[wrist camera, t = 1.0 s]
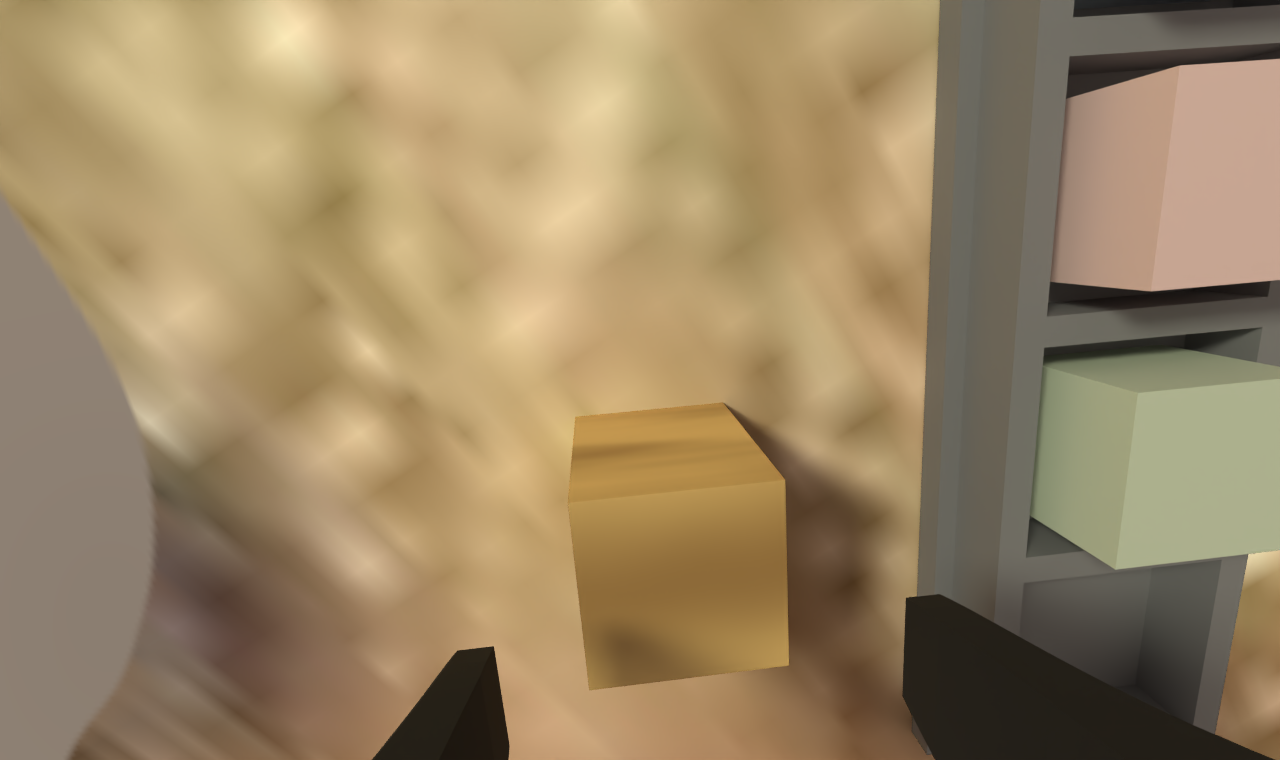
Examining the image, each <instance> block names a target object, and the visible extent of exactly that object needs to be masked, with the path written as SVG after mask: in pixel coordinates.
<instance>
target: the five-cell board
mask: <svg viewBox="0 0 1280 760" xmlns="http://www.w3.org/2000/svg"><path fill="white" fill-rule="evenodd" d="M1278 550H1280V0H940V21H939V46H938V72H937V98H936V123H935V149H934V175H933V200H932V226H931V252H930V277H929V303H928V329H927V354H926V380H925V406H924V431H923V457H922V482H921V508H920V534H919V559H918V585H917V597H918V596H926V595H935V594H941V595H943V596H945V597H947V598H949V599H951V600H953V601H955V602H957V603H959V604H961V605H963V606H965V607H966V608H968V609H970V610H972V611H974V612H976V613H978V614H979V615H981V616H983V617H985V618H987V619H988V620H990V621H992V622H994V623H996V624H997V625H999V626H1001V627H1003V628H1005V629H1006V630H1008V631H1010V632H1012V633H1014V634H1015V635H1017V636H1019V637H1021V638H1023V639H1024V640H1026V641H1028V642H1030V643H1032V644H1033V645H1035V646H1037V647H1039V648H1041V649H1043V650H1044V651H1046V652H1048V653H1050V654H1052V655H1054V656H1055V657H1057V658H1059V659H1061V660H1063V661H1065V662H1067V663H1068V664H1070V665H1072V666H1074V667H1076V668H1078V669H1080V670H1082V671H1084V672H1086V673H1087V674H1089V675H1091V676H1093V677H1095V678H1097V679H1099V680H1101V681H1103V682H1105V683H1107V684H1109V685H1111V686H1113V687H1115V688H1117V689H1119V690H1121V691H1123V692H1125V693H1127V694H1129V695H1131V696H1133V697H1135V698H1137V699H1139V700H1141V701H1143V702H1145V703H1147V704H1149V705H1151V706H1153V707H1155V708H1157V709H1160V710H1162V711H1164V712H1166V713H1168V714H1170V715H1172V716H1175V717H1177V718H1179V719H1181V720H1183V721H1185V722H1188V723H1190V724H1192V725H1194V726H1197V727H1199V728H1201V729H1204V730H1206V731H1208V732H1210V733H1213V734H1215V730H1216V725H1217V720H1218V714H1219V709H1220V704H1221V698H1222V693H1223V687H1224V682H1225V677H1226V671H1227V666H1228V661H1229V655H1230V650H1231V644H1232V639H1233V634H1234V628H1235V623H1236V618H1237V612H1238V607H1239V602H1240V596H1241V591H1242V585H1243V580H1244V575H1245V569H1246V564H1247V559H1248V554H1252V553H1261V552H1269V551H1278ZM912 733H913V734H914V736H915V737H916V739H917V740H918V742H919V744H920V745H921V747H922V748H923V750H924V751H925V753H926V754H927V755H930V754H932V753H931V751H930V749H929V747H928V745H927V744H926V742H925V740H924V738H923V736H922V734H921V732H920V730H919V728H918V726H917V724H916V722H915V720H914V718H913V716H912Z"/></svg>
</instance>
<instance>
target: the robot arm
mask: <svg viewBox="0 0 1280 760" xmlns="http://www.w3.org/2000/svg"><path fill="white" fill-rule="evenodd" d="M903 698H904V700H905V702H906V704H907V706H908V708H909V710H910V712H911V714H912V716H913V718H914V720H915V722H916V724H917V726H918V728H919V730H920V732H921V734H922V736H923V738H924V740H925V742H926V744H927V745H928V747H929V749H930V751H931V753H932V755H933V757H934V758H935V760H1274V759H1272V758H1269V757H1267V756H1264V755H1262V754H1259V753H1257V752H1254V751H1252V750H1250V749H1247V748H1245V747H1243V746H1241V745H1238V744H1236V743H1234V742H1231V741H1229V740H1227V739H1224V738H1222V737H1220V736H1217V735H1215V734H1213V733H1210V732H1208V731H1206V730H1204V729H1201V728H1199V727H1197V726H1194V725H1192V724H1190V723H1188V722H1185V721H1183V720H1181V719H1179V718H1177V717H1175V716H1172V715H1170V714H1168V713H1166V712H1164V711H1162V710H1160V709H1157V708H1155V707H1153V706H1151V705H1149V704H1147V703H1145V702H1143V701H1141V700H1139V699H1137V698H1135V697H1133V696H1131V695H1129V694H1127V693H1125V692H1123V691H1121V690H1119V689H1117V688H1115V687H1113V686H1111V685H1109V684H1107V683H1105V682H1103V681H1101V680H1099V679H1097V678H1095V677H1093V676H1091V675H1089V674H1087V673H1086V672H1084V671H1082V670H1080V669H1078V668H1076V667H1074V666H1072V665H1070V664H1068V663H1067V662H1065V661H1063V660H1061V659H1059V658H1057V657H1055V656H1054V655H1052V654H1050V653H1048V652H1046V651H1044V650H1043V649H1041V648H1039V647H1037V646H1035V645H1033V644H1032V643H1030V642H1028V641H1026V640H1024V639H1023V638H1021V637H1019V636H1017V635H1015V634H1014V633H1012V632H1010V631H1008V630H1006V629H1005V628H1003V627H1001V626H999V625H997V624H996V623H994V622H992V621H990V620H988V619H987V618H985V617H983V616H981V615H979V614H978V613H976V612H974V611H972V610H970V609H968V608H966V607H965V606H963V605H961V604H959V603H957V602H955V601H953V600H951V599H949V598H947V597H945V596H943V595H941V594H935V595H926V596H918V597H909V598H906V612H905V640H904V668H903ZM508 757H509V740H508V733H507V727H506V721H505V714H504V708H503V702H502V695H501V689H500V683H499V676H498V670H497V664H496V657H495V651H494V646H493V647H485V648H476V649H468V650H459V651H457V652H456V653H455V654H454V655H453V656H452V658H451V659H450V660H449V662H448V663H447V664H446V665H445V667H444V668H443V669H442V671H441V672H440V673H439V675H438V676H437V677H436V679H435V680H434V681H433V683H432V684H431V685H430V687H429V688H428V689H427V691H426V692H425V693H424V695H423V696H422V697H421V699H420V700H419V701H418V703H417V704H416V705H415V706H414V708H413V709H412V710H411V712H410V713H409V714H408V716H407V717H406V718H405V719H404V721H403V722H402V723H401V724H400V726H399V727H398V728H397V729H396V731H395V732H394V733H393V734H392V736H391V737H390V738H389V739H388V741H387V742H386V743H385V744H384V746H383V747H382V748H381V749H380V751H379V752H378V753H377V754H376V756H375V757H374V758H373V759H372V760H508Z"/></svg>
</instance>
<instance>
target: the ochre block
mask: <svg viewBox="0 0 1280 760" xmlns="http://www.w3.org/2000/svg"><path fill="white" fill-rule="evenodd" d="M568 509H569V518H570V526H571V535H572V544H573V552H574V561H575V570H576V579H577V587H578V596H579V605H580V614H581V622H582V631H583V640H584V648H585V657H586V666H587V675H588V683H589V690H596V689H604V688H612V687H620V686H628V685H636V684H644V683H652V682H660V681H668V680H676V679H684V678H692V677H700V676H708V675H717V674H725V673H733V672H741V671H749V670H757V669H765V668H773V667H781V666H789V643H788V592H787V542H786V491H785V479H784V478H783V476H782V475H781V474H780V473H779V472H778V470H777V469H776V468H775V467H774V465H773V464H772V463H771V462H770V460H769V459H768V458H767V457H766V455H765V454H764V453H763V452H762V450H761V449H760V448H759V447H758V445H757V444H756V443H755V442H754V440H753V439H752V438H751V437H750V435H749V434H748V433H747V432H746V430H745V429H744V428H743V427H742V425H741V424H740V423H739V422H738V420H737V419H736V418H735V417H734V416H733V414H732V413H731V412H730V411H729V409H728V408H727V407H726V406H725V404H724V403H714V404H704V405H694V406H683V407H673V408H663V409H652V410H642V411H631V412H621V413H611V414H600V415H590V416H579V417H575V427H574V439H573V450H572V461H571V473H570V484H569V495H568Z"/></svg>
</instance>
